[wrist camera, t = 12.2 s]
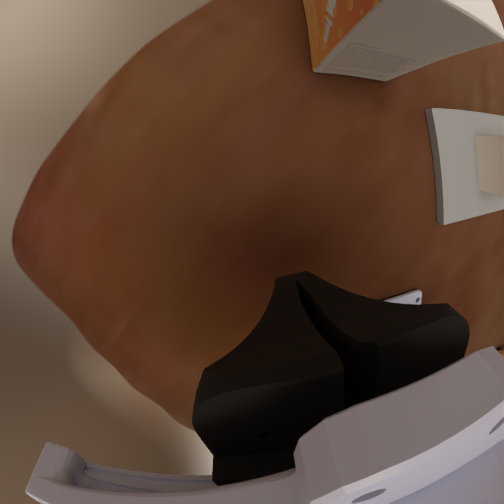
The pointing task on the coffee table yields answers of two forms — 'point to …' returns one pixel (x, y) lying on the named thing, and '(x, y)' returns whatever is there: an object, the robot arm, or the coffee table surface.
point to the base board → (460, 162)
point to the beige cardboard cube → (490, 163)
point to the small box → (395, 34)
